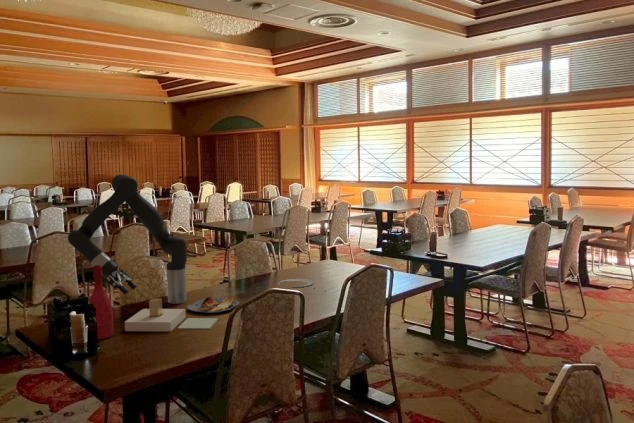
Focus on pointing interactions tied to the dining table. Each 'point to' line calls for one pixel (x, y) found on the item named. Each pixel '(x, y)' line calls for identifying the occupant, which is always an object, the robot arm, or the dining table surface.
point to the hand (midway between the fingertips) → (131, 290)
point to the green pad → (198, 323)
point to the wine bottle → (102, 306)
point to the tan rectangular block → (155, 307)
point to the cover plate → (155, 320)
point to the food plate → (213, 304)
